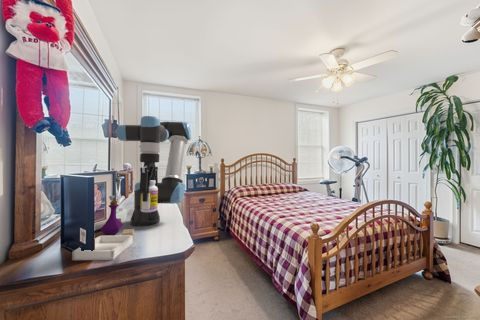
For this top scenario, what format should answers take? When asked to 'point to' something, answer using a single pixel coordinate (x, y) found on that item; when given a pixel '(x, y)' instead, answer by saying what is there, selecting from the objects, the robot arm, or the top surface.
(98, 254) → the tray
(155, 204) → the supplement bottle
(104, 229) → the perfume bottle
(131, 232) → the maple block
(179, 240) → the top surface
